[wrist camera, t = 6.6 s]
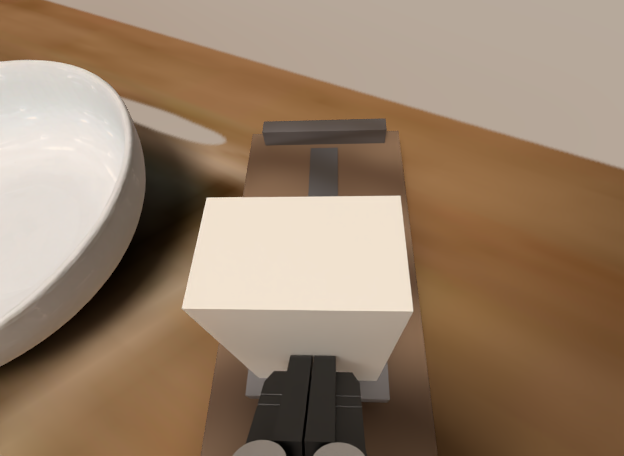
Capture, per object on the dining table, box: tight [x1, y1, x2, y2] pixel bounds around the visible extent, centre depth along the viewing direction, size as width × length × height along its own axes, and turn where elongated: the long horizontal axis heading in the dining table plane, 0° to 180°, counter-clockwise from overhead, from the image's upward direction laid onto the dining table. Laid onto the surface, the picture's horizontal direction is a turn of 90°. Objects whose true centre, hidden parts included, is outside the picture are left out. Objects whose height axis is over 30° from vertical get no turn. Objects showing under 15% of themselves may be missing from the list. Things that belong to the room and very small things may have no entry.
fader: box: [182, 196, 413, 403], centre depth 13 cm, size 4×6×10 cm
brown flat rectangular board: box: [201, 119, 438, 456], centre depth 20 cm, size 22×10×3 cm, turn 178°
